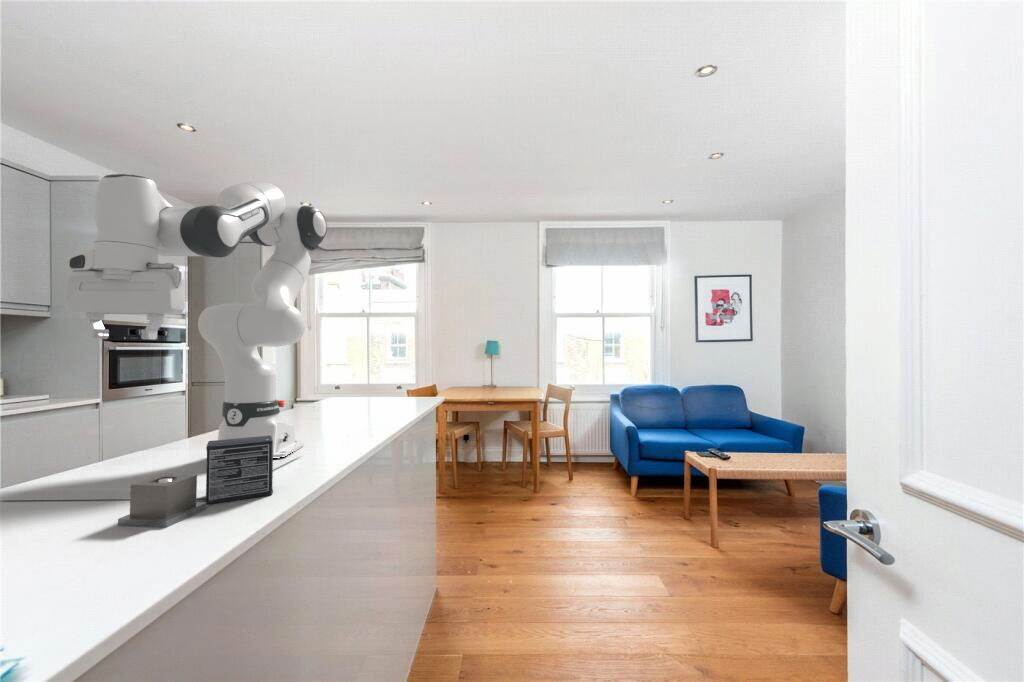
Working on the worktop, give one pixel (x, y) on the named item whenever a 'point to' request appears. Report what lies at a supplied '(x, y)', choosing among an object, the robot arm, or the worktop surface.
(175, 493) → the collar
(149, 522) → the shaft stand
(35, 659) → the worktop surface
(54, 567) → the worktop surface
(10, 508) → the worktop surface
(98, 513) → the worktop surface
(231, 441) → the small box
